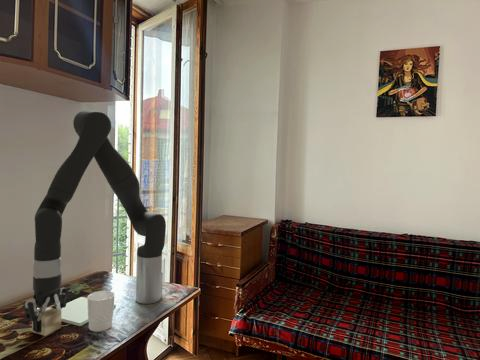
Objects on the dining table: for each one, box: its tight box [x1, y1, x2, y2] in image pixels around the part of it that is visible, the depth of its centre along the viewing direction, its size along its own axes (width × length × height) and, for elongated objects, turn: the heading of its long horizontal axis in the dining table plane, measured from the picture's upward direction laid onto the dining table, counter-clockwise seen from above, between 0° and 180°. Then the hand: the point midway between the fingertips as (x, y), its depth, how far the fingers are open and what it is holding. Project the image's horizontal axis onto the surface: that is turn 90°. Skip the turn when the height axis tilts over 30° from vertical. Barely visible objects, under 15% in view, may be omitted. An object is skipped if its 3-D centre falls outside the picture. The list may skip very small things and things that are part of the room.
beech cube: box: [31, 306, 62, 337], centre depth 104 cm, size 6×6×6 cm
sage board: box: [61, 296, 117, 327], centre depth 118 cm, size 16×16×1 cm
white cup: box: [86, 290, 115, 333], centre depth 107 cm, size 8×8×10 cm
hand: (46, 327), depth 104 cm, fingers closed on beech cube, 5 cm apart
